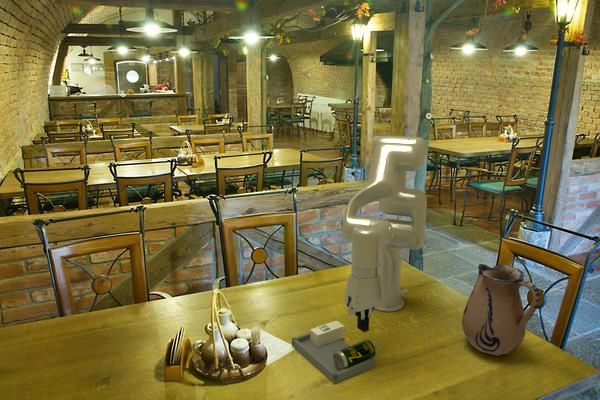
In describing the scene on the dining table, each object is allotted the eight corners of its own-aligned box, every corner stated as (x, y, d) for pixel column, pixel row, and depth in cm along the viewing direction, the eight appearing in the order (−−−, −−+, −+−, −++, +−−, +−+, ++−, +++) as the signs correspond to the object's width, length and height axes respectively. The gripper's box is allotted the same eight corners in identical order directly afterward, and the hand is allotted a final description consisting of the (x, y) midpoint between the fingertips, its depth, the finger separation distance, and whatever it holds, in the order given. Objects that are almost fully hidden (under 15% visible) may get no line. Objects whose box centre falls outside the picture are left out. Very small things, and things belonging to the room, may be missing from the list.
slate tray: (329, 332, 156) (329, 325, 155) (374, 366, 138) (374, 359, 137) (291, 345, 148) (291, 338, 148) (334, 383, 130) (334, 375, 130)
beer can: (373, 361, 141) (341, 375, 134) (363, 346, 144) (330, 359, 138) (380, 350, 138) (346, 364, 131) (369, 335, 141) (336, 348, 134)
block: (336, 319, 153) (310, 328, 148) (344, 325, 150) (317, 334, 145) (336, 331, 154) (310, 341, 149) (344, 337, 151) (317, 347, 146)
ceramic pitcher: (476, 326, 159) (483, 254, 153) (543, 351, 145) (555, 274, 138) (449, 347, 147) (456, 270, 141) (519, 377, 133) (530, 293, 126)
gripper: (376, 260, 141) (374, 317, 146) (335, 271, 133) (334, 331, 138) (394, 268, 135) (391, 327, 140) (352, 281, 127) (350, 343, 132)
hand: (362, 329), depth 139 cm, fingers closed
